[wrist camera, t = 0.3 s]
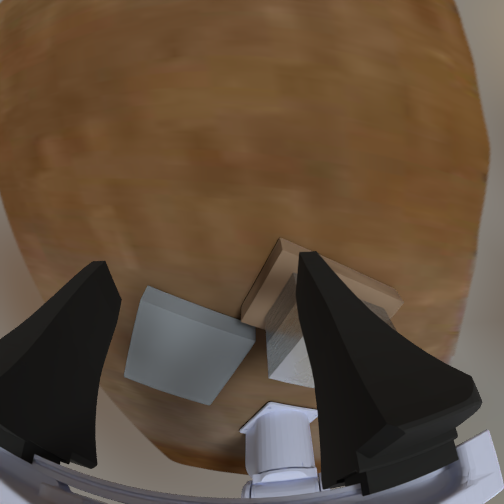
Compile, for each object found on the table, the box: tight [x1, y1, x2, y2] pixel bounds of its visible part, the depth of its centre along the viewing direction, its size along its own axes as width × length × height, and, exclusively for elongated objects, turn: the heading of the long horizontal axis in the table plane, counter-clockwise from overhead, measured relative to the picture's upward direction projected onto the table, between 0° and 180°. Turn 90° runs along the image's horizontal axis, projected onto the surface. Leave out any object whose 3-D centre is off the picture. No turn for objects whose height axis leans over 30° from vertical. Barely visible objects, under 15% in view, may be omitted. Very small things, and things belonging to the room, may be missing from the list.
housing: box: [265, 272, 396, 388], centre depth 19 cm, size 4×9×6 cm, turn 65°
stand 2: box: [241, 237, 404, 330], centre depth 22 cm, size 7×12×2 cm, turn 65°
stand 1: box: [124, 286, 256, 405], centre depth 25 cm, size 12×10×2 cm
